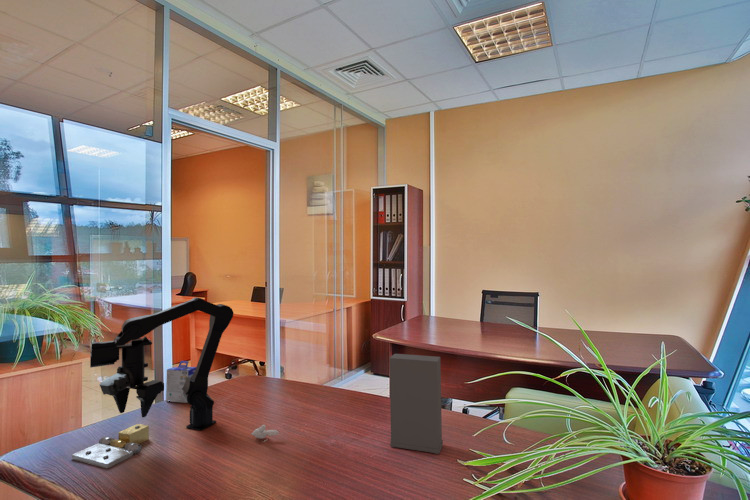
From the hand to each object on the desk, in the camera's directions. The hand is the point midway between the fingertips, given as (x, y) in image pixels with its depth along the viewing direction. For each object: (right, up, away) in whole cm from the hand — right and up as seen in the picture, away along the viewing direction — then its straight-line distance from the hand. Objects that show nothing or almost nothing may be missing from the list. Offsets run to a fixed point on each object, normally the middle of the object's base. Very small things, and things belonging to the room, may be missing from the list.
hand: (132, 414), depth 112 cm
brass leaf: (0, -8, -1) cm, 8 cm away
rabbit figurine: (+39, -8, 0) cm, 40 cm away
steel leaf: (-2, -8, -7) cm, 11 cm away
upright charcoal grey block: (+83, -7, -4) cm, 84 cm away
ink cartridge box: (-3, -9, +34) cm, 35 cm away
